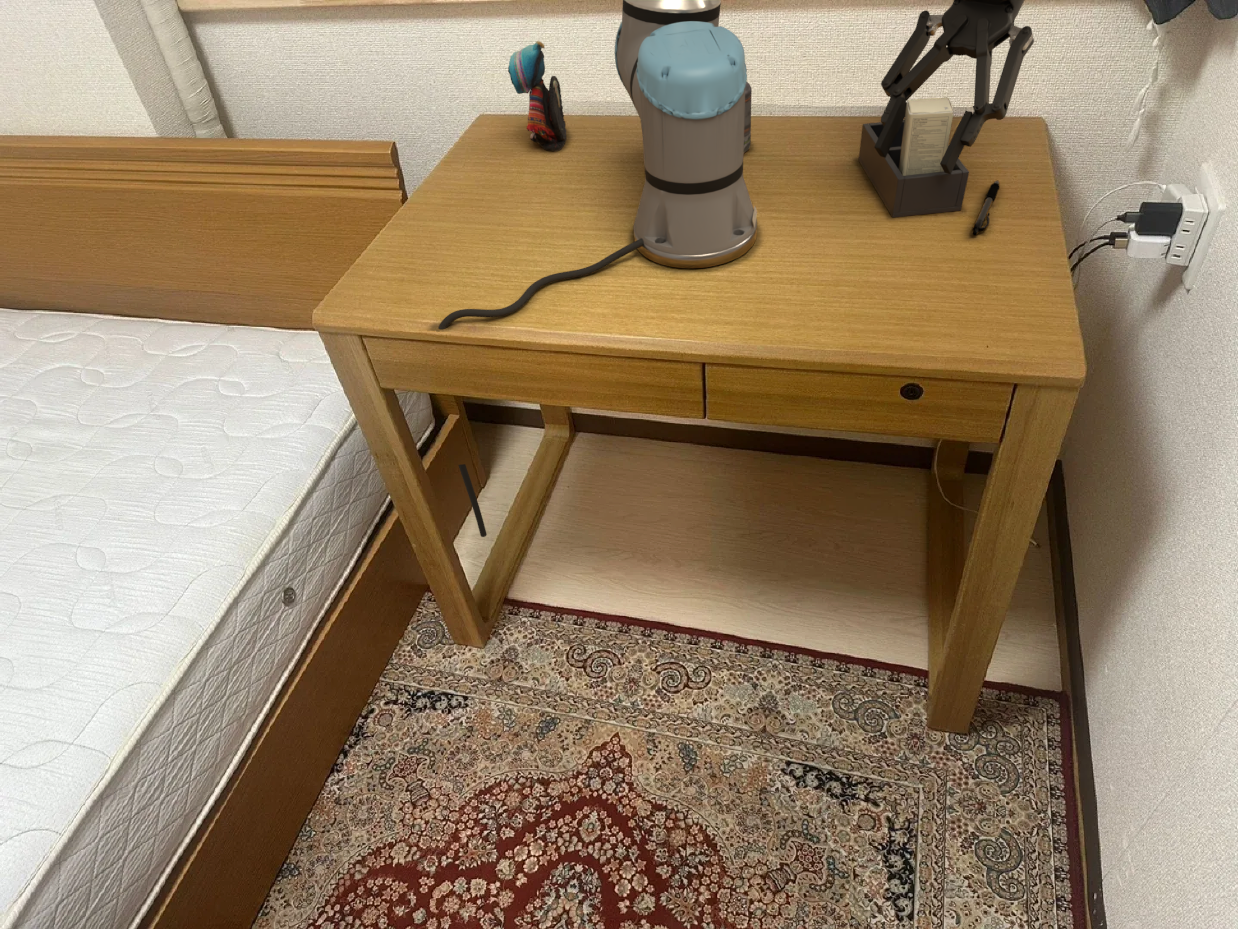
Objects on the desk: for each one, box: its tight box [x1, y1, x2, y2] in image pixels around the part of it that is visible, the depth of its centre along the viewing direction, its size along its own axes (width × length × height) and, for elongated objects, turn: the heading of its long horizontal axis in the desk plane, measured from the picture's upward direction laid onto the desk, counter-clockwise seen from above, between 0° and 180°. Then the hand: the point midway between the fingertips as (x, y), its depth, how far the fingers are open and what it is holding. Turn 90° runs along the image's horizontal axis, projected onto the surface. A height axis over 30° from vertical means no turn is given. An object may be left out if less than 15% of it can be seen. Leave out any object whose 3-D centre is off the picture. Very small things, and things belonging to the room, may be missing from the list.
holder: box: [858, 119, 970, 218], centre depth 110 cm, size 9×16×5 cm, turn 3°
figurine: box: [507, 40, 567, 152], centre depth 126 cm, size 10×7×15 cm
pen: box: [971, 180, 1001, 237], centre depth 105 cm, size 14×2×1 cm, turn 152°
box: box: [899, 97, 955, 176], centre depth 105 cm, size 5×4×11 cm
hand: (912, 160), depth 103 cm, fingers open, 8 cm apart
